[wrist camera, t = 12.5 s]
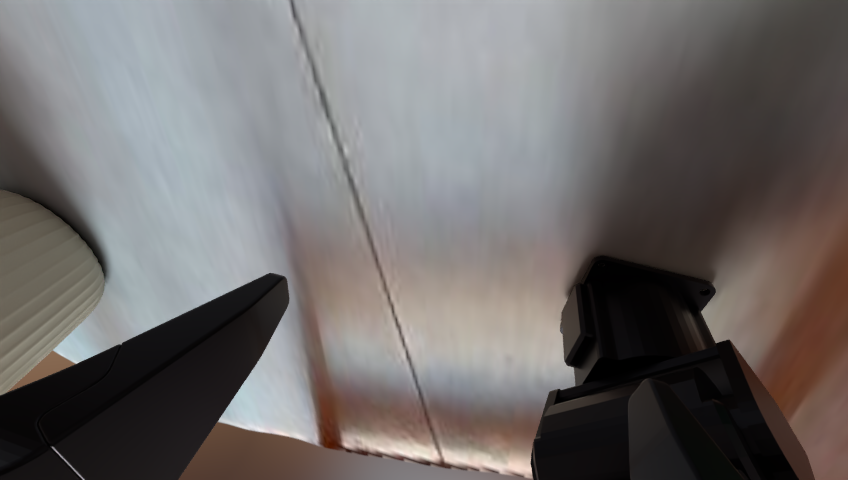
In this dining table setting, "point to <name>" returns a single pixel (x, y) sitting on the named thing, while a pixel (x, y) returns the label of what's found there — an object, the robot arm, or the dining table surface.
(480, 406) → the dining table surface
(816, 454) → the dining table surface
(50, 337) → the canister
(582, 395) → the robot arm
